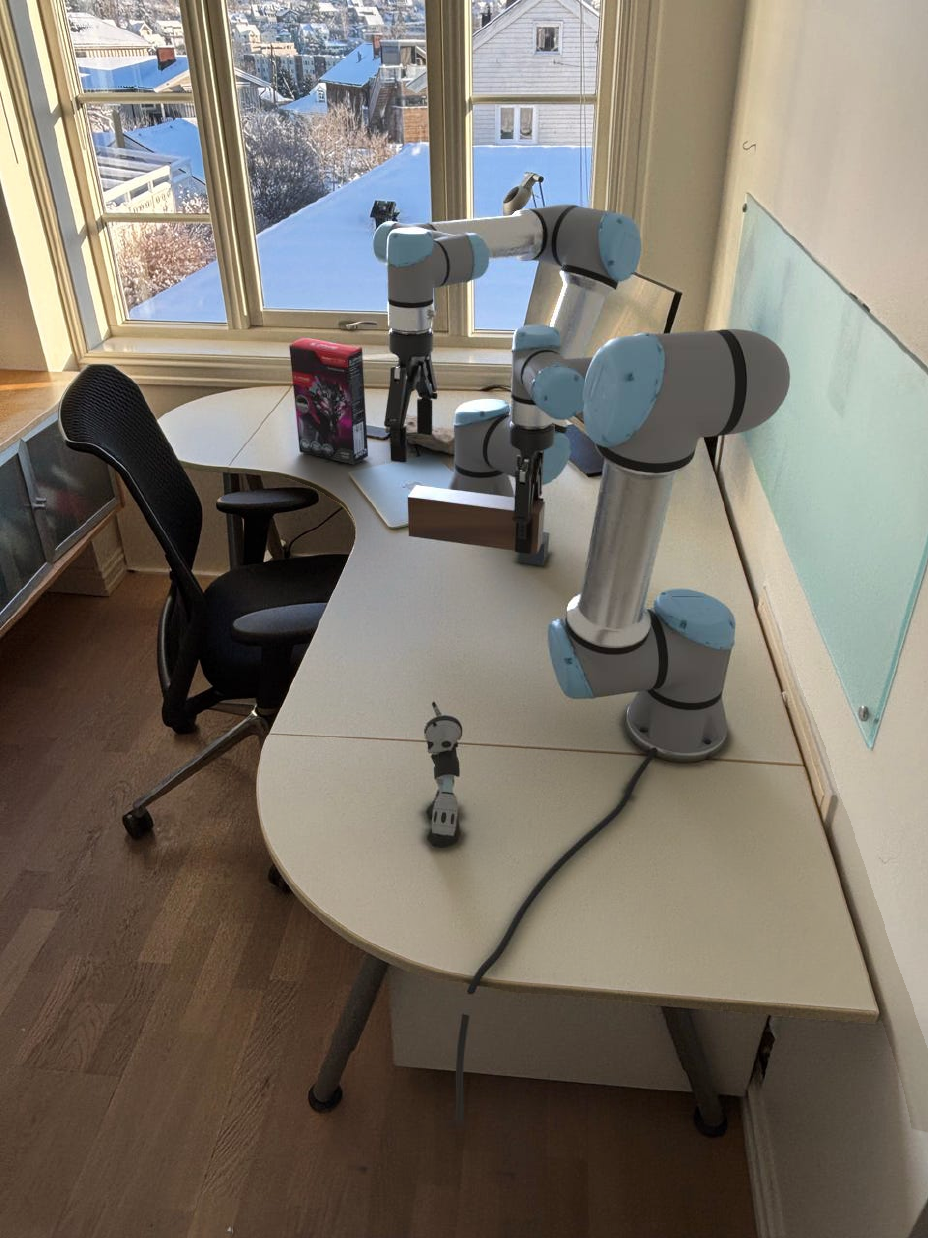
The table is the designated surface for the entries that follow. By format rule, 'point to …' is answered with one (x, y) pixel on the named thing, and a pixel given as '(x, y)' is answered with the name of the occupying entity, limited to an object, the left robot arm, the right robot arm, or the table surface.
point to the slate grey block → (540, 556)
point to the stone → (429, 436)
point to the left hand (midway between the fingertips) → (412, 447)
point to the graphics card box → (329, 399)
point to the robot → (443, 777)
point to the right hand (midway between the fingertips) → (526, 544)
